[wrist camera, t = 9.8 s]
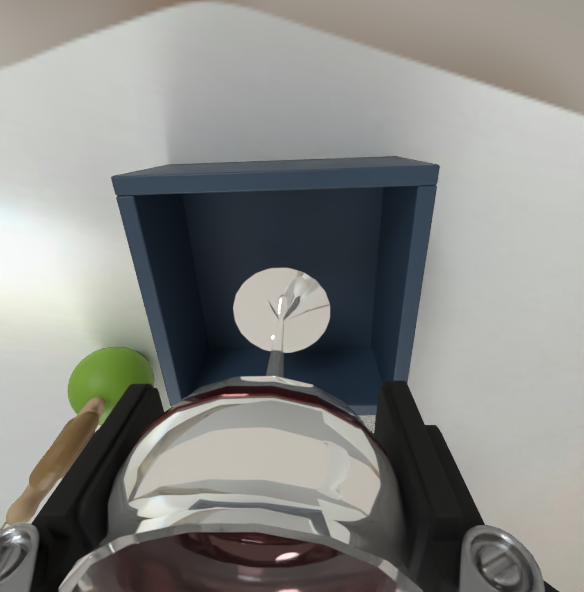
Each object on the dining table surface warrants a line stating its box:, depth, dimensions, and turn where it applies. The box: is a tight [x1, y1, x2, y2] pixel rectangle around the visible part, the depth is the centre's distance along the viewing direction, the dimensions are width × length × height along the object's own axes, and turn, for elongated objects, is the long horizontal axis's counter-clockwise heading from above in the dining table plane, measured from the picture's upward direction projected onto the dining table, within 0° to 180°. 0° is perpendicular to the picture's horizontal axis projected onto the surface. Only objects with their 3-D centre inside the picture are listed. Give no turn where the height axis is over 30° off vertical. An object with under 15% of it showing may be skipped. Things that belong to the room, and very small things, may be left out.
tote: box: [111, 156, 440, 415], centre depth 19 cm, size 14×14×7 cm
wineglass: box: [59, 268, 423, 592], centre depth 11 cm, size 7×7×12 cm
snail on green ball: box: [0, 347, 154, 530], centre depth 21 cm, size 5×6×12 cm
